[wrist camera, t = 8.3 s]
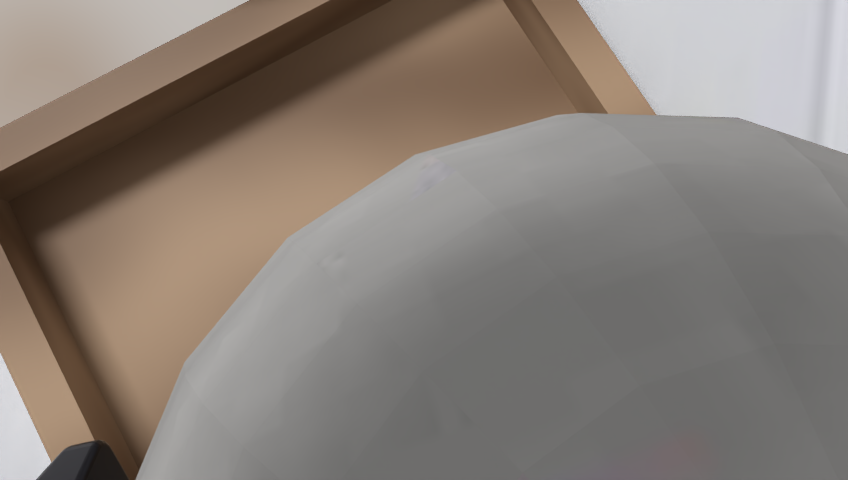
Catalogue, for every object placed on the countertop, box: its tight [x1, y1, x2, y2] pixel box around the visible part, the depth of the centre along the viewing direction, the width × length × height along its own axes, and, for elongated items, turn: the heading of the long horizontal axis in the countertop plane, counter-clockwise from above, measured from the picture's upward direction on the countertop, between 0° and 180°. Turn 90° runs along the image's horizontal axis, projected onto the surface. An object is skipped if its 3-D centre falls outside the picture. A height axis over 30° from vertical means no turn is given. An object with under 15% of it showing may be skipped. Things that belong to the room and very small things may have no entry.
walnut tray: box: [0, 0, 656, 480], centre depth 17 cm, size 20×16×2 cm
